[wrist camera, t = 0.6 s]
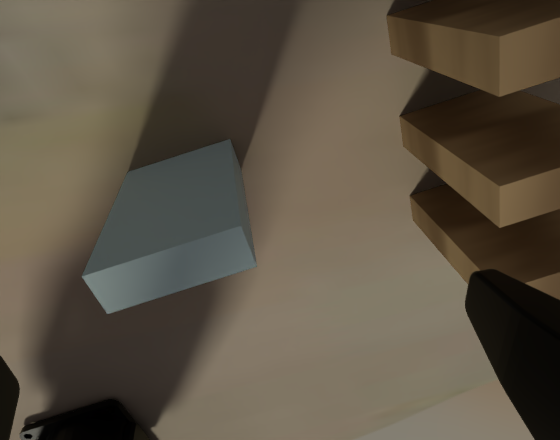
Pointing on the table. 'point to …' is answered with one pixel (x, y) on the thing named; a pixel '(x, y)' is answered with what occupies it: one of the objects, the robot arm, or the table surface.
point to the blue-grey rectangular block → (173, 229)
